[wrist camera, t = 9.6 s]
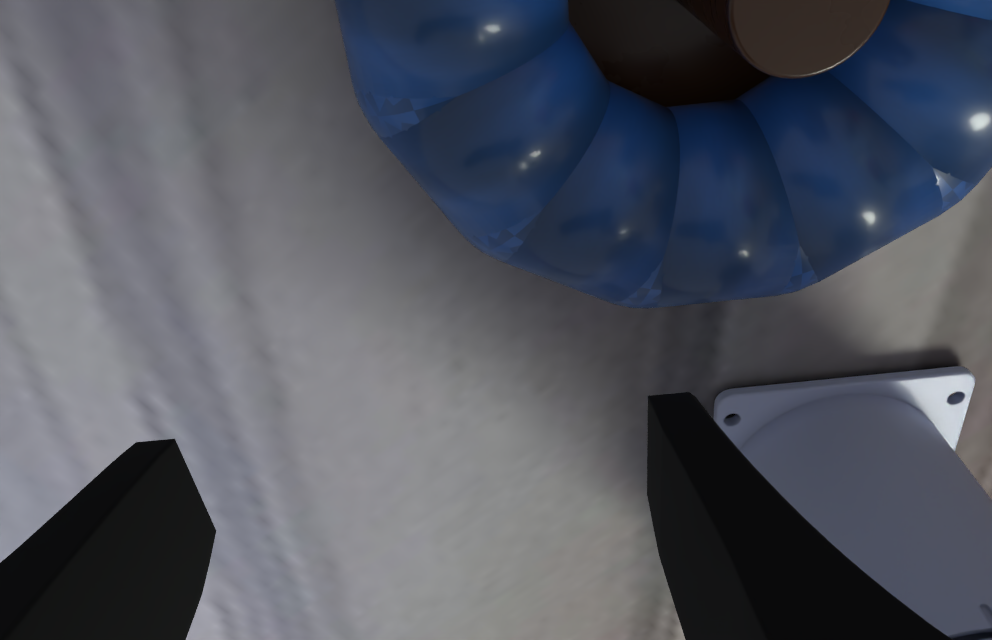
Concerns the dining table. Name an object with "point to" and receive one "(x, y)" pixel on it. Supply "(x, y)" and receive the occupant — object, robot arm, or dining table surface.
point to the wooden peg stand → (719, 42)
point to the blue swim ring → (672, 147)
